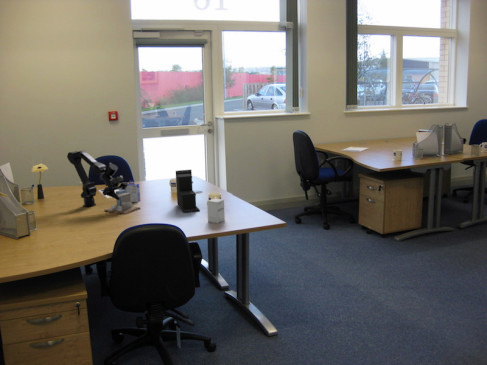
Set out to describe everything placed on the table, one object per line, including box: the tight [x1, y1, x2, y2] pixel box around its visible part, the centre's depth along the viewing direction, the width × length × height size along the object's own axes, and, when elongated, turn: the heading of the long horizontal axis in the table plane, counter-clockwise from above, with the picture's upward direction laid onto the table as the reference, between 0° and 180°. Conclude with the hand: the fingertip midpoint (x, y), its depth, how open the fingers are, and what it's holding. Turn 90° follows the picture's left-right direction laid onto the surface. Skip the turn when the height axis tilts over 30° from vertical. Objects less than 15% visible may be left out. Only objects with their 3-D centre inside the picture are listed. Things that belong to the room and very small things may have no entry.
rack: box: [104, 193, 141, 215], centre depth 303 cm, size 18×14×11 cm
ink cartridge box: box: [125, 180, 141, 203], centre depth 325 cm, size 10×6×14 cm, turn 83°
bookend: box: [175, 169, 201, 214], centre depth 302 cm, size 23×11×24 cm, turn 17°
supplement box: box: [206, 198, 226, 224], centre depth 271 cm, size 7×7×13 cm
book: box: [115, 189, 126, 206], centre depth 302 cm, size 3×6×12 cm, turn 151°
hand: (122, 198), depth 302 cm, fingers open, 7 cm apart
